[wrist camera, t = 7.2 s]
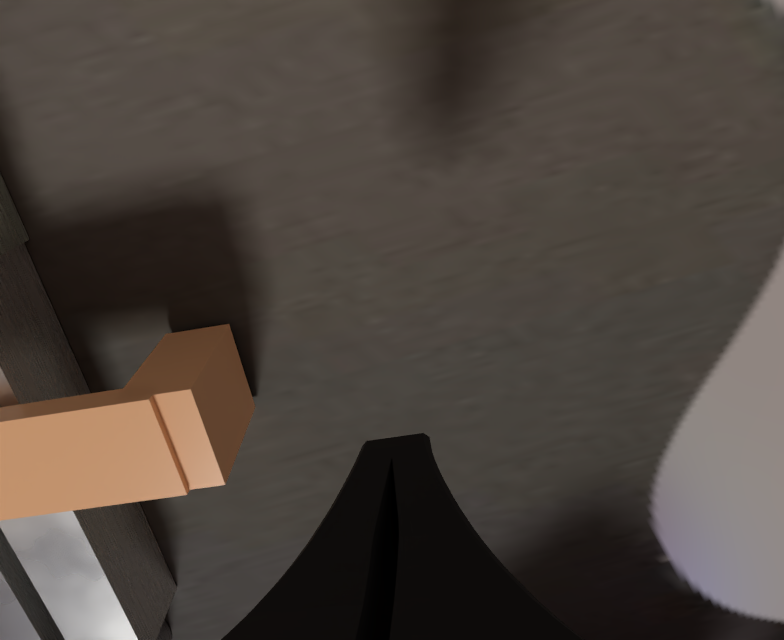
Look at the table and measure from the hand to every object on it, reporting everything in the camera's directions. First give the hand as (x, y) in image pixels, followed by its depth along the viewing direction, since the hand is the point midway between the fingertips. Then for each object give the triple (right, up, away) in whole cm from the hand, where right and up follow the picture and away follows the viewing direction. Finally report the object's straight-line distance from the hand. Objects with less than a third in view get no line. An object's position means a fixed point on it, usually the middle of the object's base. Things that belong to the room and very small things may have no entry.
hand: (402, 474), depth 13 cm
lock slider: (-9, +1, +7) cm, 11 cm away
